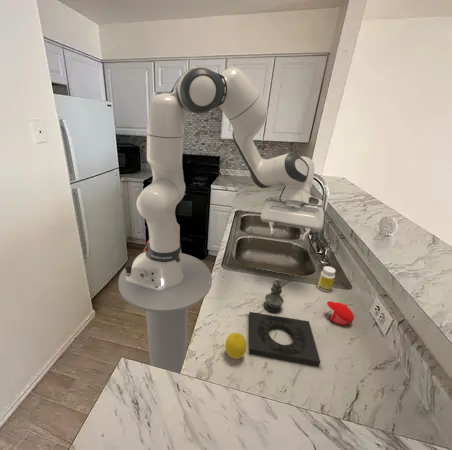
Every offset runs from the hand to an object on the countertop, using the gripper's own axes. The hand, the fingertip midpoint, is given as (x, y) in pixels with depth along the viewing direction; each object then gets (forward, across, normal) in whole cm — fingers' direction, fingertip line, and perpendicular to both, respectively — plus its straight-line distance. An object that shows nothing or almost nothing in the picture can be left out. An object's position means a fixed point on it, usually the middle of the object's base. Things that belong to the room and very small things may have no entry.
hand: (286, 237), depth 86 cm
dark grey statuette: (+23, 0, +7) cm, 24 cm away
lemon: (+40, -6, -11) cm, 41 cm away
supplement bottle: (+10, +15, +22) cm, 28 cm away
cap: (+21, +20, +10) cm, 30 cm away
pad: (+32, +4, -2) cm, 32 cm away
